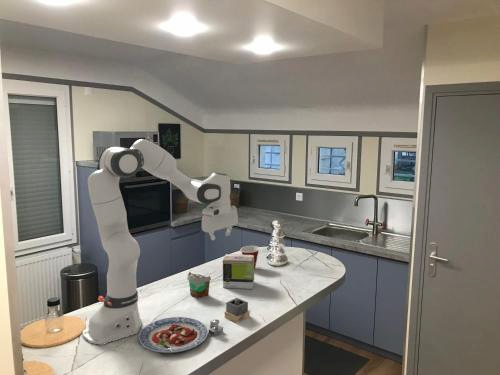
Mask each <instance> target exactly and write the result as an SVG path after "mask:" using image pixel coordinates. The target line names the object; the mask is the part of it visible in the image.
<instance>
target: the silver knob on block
mask: <svg viewBox="0 0 500 375" xmlns="http://www.w3.org/2000/svg"><path fill="white" fill-rule="evenodd" d="M211 321H212V323H213V324H214V327H212V328H210V327H209V329H208V335H209V336H211V337H214V338H215V337H216V336H218V335H220V334H222V333H224V327H223V326H222V325H220V320H219V319H212V320H211Z"/></svg>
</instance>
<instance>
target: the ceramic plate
mask: <svg viewBox="0 0 500 375" xmlns="http://www.w3.org/2000/svg"><path fill="white" fill-rule="evenodd" d="M138 334H139V335H138V341H139V342H140V344H141V345H142V346H143V347H144V348H146V349H148V350H149V351H153V352H157V353H163V354H165V353H167V354H168V353H180V352H185V351H189V350H191V349H194V348H196V347H198V346H199V345H200V344H201V343H203V342H204V341H205V340H206V339H207V337H208V335H209V329H208V327H207V326H206V325H205V323H203V322H202V321H200V320H198V319H195V318H192V317H187V316H171V317H166V318H161V319H157V320H155V321H153V322H150V323H149V324H147V325H146V326H145V327H143V328H142V329H141V330H140V331H139V333H138ZM168 348H169V349H168ZM170 348H171V349H170Z"/></svg>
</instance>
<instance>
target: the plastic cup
mask: <svg viewBox="0 0 500 375" xmlns="http://www.w3.org/2000/svg"><path fill="white" fill-rule="evenodd" d="M239 250H240V252H241V255H254V270H256V268H257V267H256V266H257V260H258V255H259V250H260V247H259V246H257V245H246V246H243V247H241V248H240V249H239Z"/></svg>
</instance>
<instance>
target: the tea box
mask: <svg viewBox="0 0 500 375" xmlns="http://www.w3.org/2000/svg"><path fill="white" fill-rule="evenodd" d="M254 284H255V269H254V255H242V254H238V253H237V254H234V253H233V254H232V253H225V255H224V256H223V259H222V288H223V289H224V288H226V289H245V290H246V289H249V290H250V289H251V290H252V289H253V288H254Z"/></svg>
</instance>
